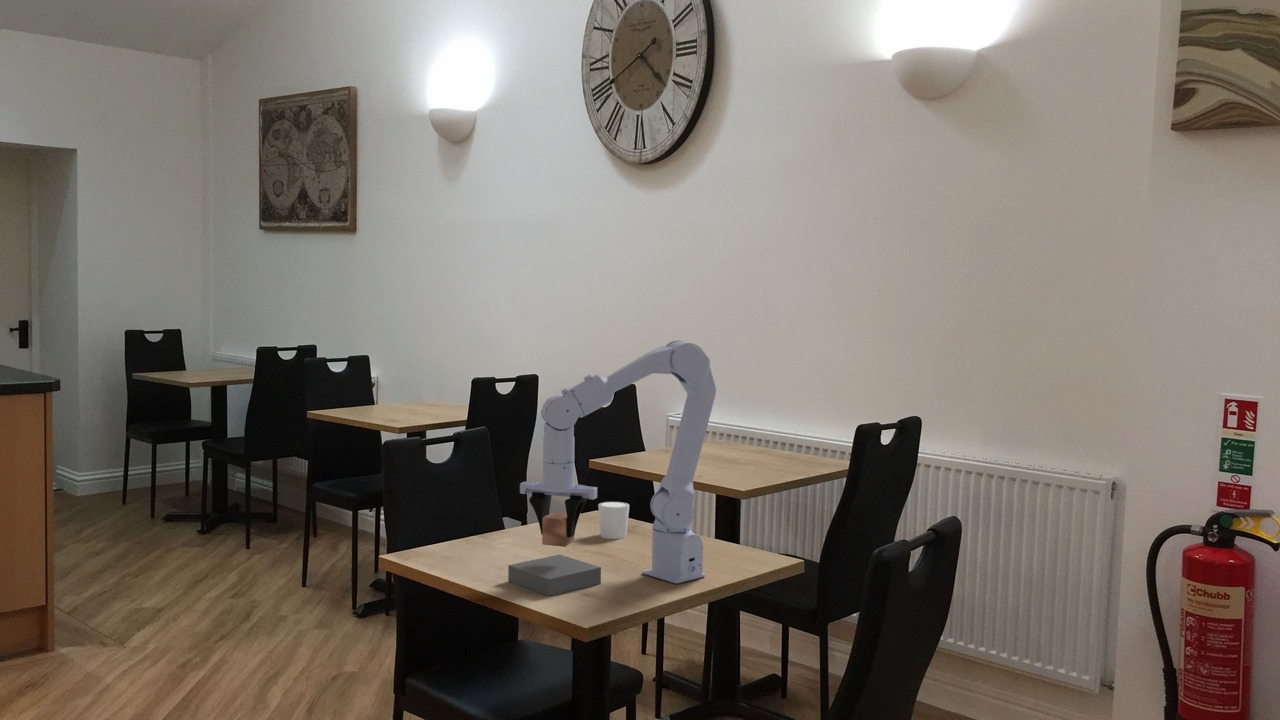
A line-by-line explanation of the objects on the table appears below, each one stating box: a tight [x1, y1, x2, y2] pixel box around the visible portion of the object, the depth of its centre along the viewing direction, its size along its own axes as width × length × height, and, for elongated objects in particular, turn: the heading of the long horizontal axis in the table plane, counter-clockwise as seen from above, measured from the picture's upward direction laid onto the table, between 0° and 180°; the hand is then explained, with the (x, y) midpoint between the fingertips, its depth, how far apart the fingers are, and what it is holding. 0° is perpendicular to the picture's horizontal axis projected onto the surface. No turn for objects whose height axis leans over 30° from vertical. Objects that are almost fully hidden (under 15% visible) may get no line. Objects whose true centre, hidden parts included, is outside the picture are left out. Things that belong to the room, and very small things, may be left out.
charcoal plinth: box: [507, 554, 602, 597], centre depth 189 cm, size 12×12×3 cm
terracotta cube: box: [541, 512, 575, 548], centre depth 190 cm, size 4×4×5 cm
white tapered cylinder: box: [597, 501, 630, 540], centre depth 225 cm, size 7×7×7 cm
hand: (557, 534), depth 190 cm, fingers closed on terracotta cube, 4 cm apart
